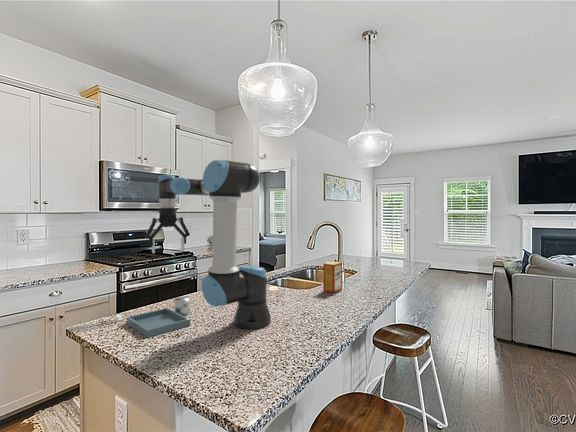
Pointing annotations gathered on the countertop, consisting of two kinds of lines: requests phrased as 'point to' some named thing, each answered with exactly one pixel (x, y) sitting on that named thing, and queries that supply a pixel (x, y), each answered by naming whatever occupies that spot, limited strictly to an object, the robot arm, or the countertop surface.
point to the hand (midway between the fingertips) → (168, 251)
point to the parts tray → (157, 322)
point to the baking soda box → (332, 276)
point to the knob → (182, 305)
